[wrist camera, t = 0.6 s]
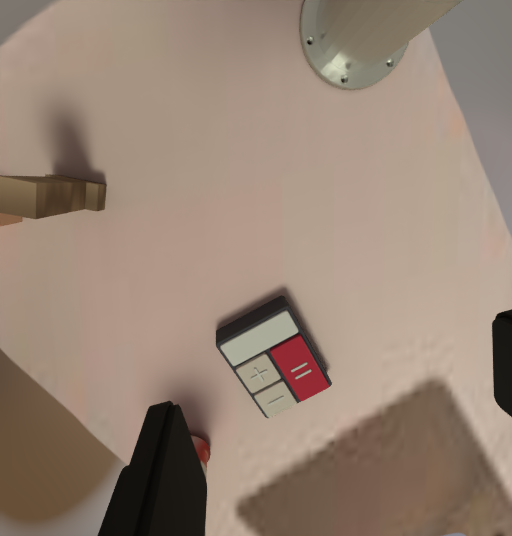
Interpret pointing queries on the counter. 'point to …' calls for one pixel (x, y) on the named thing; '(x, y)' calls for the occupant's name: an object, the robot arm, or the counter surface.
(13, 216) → the tile
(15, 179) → the tan stepped block
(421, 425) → the counter surface
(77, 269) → the counter surface
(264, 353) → the calculator
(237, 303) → the counter surface
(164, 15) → the counter surface
